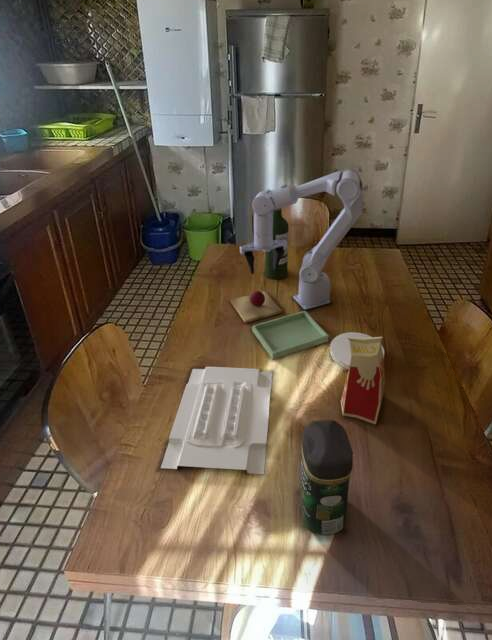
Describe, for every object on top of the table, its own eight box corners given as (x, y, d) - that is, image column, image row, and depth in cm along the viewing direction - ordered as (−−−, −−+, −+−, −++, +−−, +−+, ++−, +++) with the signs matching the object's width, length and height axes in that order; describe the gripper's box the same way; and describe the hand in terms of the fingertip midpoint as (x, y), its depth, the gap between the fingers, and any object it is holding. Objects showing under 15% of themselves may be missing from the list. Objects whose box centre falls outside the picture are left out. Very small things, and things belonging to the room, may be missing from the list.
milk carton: (382, 395, 103) (393, 326, 94) (377, 425, 95) (389, 353, 86) (344, 385, 106) (351, 318, 97) (336, 414, 98) (343, 343, 89)
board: (264, 293, 142) (264, 290, 142) (281, 312, 132) (281, 310, 132) (230, 302, 137) (230, 299, 137) (245, 323, 128) (245, 320, 127)
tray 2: (304, 316, 131) (305, 310, 130) (328, 341, 121) (328, 335, 120) (252, 331, 124) (252, 325, 123) (272, 359, 114) (272, 353, 113)
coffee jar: (295, 486, 82) (298, 415, 74) (336, 482, 83) (344, 411, 75) (304, 540, 73) (309, 466, 65) (349, 535, 74) (360, 461, 66)
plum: (261, 300, 137) (265, 289, 135) (263, 310, 133) (268, 298, 131) (247, 299, 136) (250, 287, 133) (249, 308, 132) (253, 297, 130)
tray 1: (160, 468, 85) (158, 455, 83) (192, 371, 111) (191, 360, 109) (264, 474, 84) (264, 460, 83) (272, 375, 110) (272, 363, 108)
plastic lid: (384, 344, 120) (385, 337, 119) (381, 379, 108) (383, 372, 106) (333, 335, 123) (334, 328, 122) (325, 368, 111) (326, 361, 110)
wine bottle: (282, 281, 149) (284, 199, 136) (261, 276, 152) (261, 195, 139) (290, 270, 156) (292, 191, 143) (269, 266, 158) (270, 188, 145)
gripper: (243, 240, 125) (244, 280, 131) (290, 233, 130) (289, 272, 136) (237, 230, 131) (238, 269, 137) (282, 224, 136) (281, 262, 142)
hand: (263, 270), depth 137 cm, fingers open, 7 cm apart
